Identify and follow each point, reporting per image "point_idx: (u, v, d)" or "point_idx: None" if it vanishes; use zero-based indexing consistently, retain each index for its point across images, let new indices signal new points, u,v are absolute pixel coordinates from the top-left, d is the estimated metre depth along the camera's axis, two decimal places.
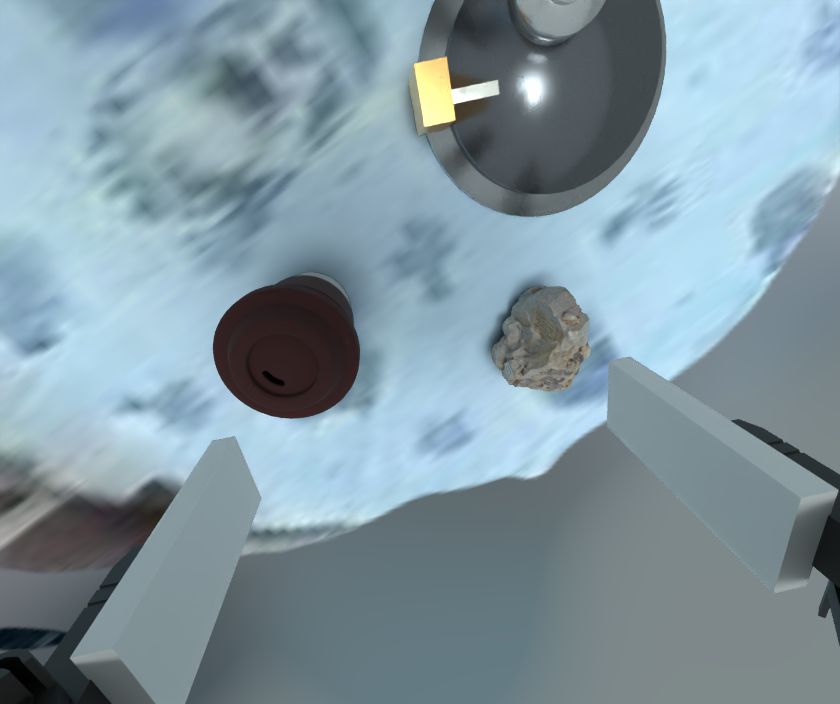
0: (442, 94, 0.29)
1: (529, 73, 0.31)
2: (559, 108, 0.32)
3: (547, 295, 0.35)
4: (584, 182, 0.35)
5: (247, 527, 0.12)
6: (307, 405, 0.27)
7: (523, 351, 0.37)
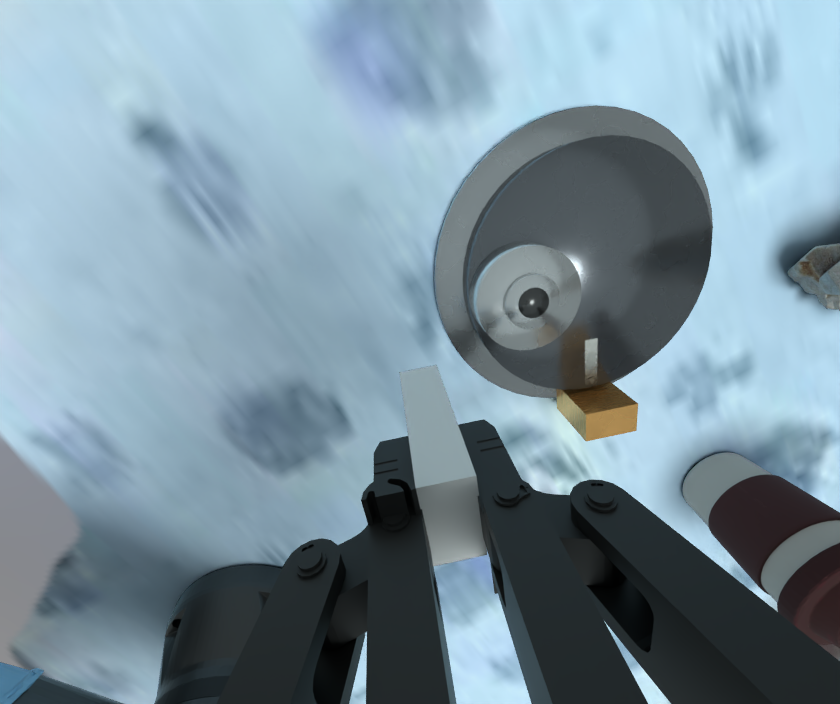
0: (614, 416, 0.29)
1: (585, 307, 0.29)
2: (624, 269, 0.28)
3: None
4: (709, 224, 0.27)
5: None
6: None
7: None
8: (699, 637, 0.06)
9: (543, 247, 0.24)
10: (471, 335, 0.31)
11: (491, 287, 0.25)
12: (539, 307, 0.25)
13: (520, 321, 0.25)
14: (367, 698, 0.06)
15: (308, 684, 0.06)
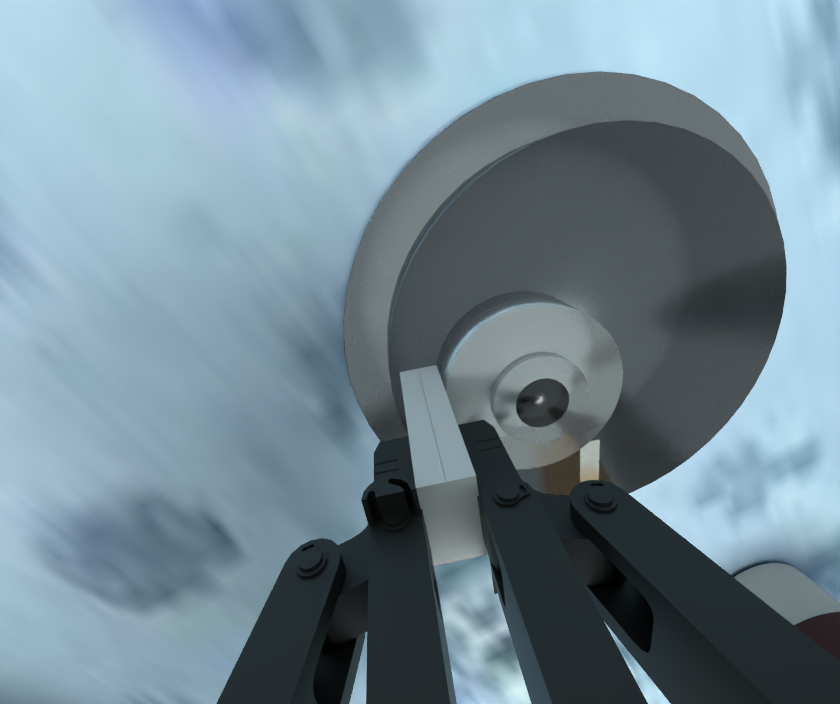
0: None
1: None
2: (643, 339, 0.17)
3: None
4: (783, 270, 0.17)
5: None
6: None
7: None
8: (699, 637, 0.06)
9: (561, 309, 0.14)
10: None
11: (468, 376, 0.14)
12: (552, 410, 0.14)
13: (520, 432, 0.15)
14: (367, 698, 0.06)
15: (308, 683, 0.06)
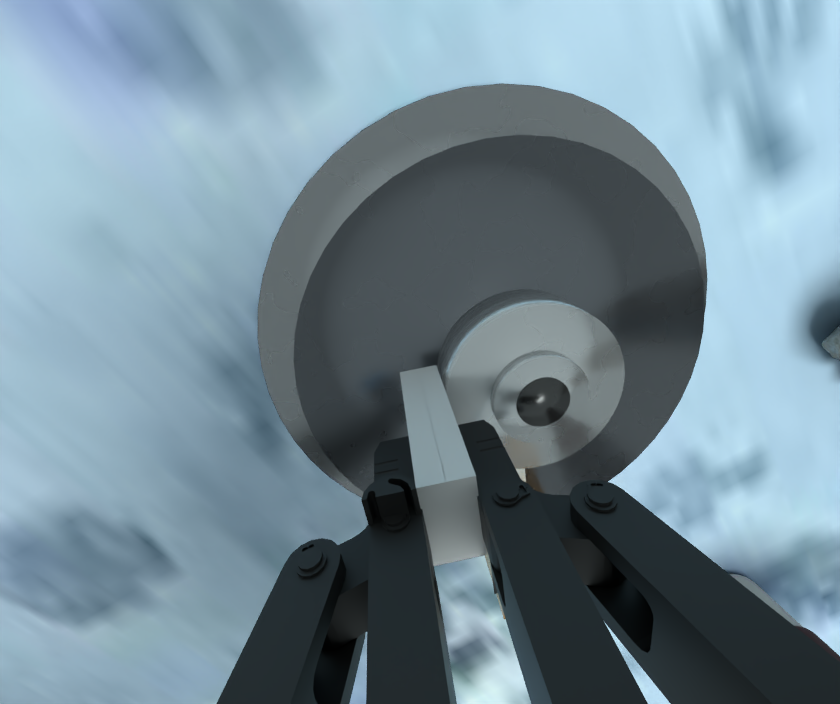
0: None
1: None
2: None
3: None
4: (700, 284, 0.16)
5: None
6: None
7: None
8: (699, 637, 0.06)
9: (559, 307, 0.14)
10: None
11: (468, 376, 0.14)
12: (553, 409, 0.14)
13: (521, 431, 0.15)
14: (367, 698, 0.06)
15: (308, 683, 0.06)
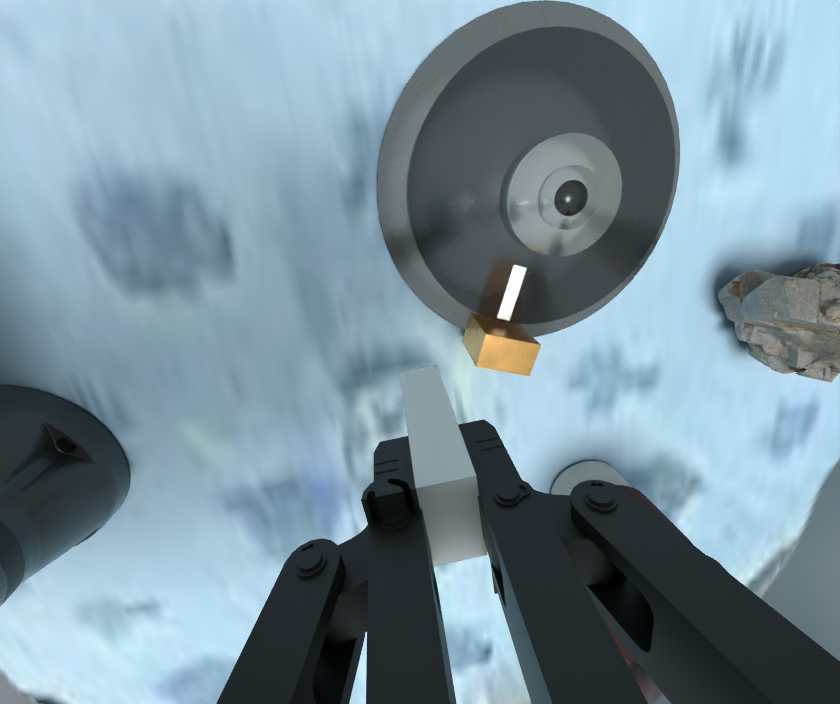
0: (513, 349, 0.26)
1: None
2: None
3: (770, 303, 0.27)
4: (669, 193, 0.26)
5: None
6: None
7: (806, 353, 0.29)
8: (699, 637, 0.06)
9: (601, 143, 0.23)
10: (402, 216, 0.28)
11: (535, 164, 0.23)
12: (574, 205, 0.23)
13: (550, 214, 0.23)
14: (367, 698, 0.06)
15: (308, 683, 0.06)
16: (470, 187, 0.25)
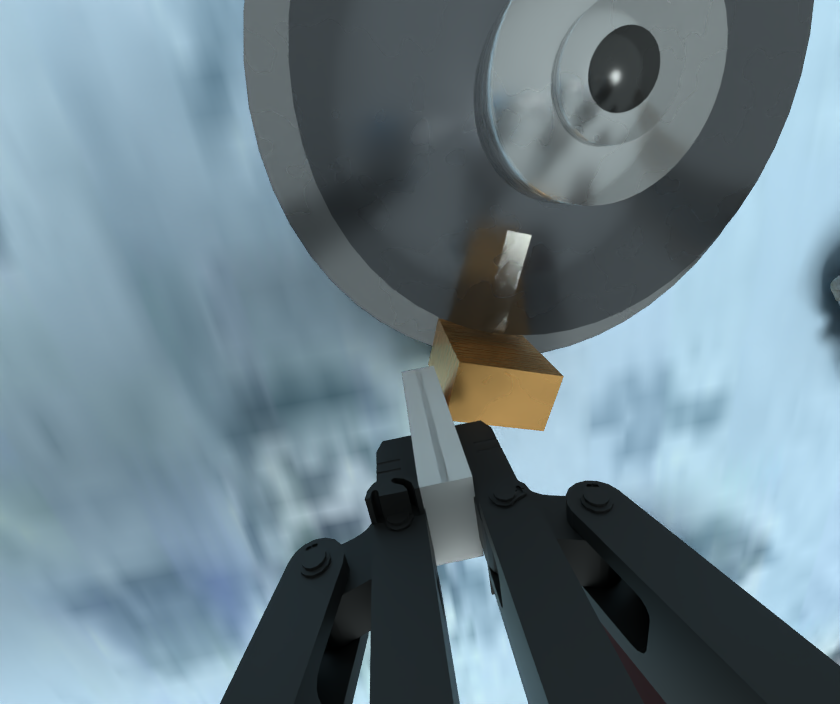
0: (513, 387, 0.14)
1: None
2: None
3: None
4: (796, 80, 0.14)
5: None
6: None
7: None
8: (694, 638, 0.06)
9: None
10: (299, 141, 0.15)
11: None
12: (631, 87, 0.11)
13: (580, 109, 0.11)
14: (371, 697, 0.06)
15: (312, 682, 0.06)
16: (415, 76, 0.13)
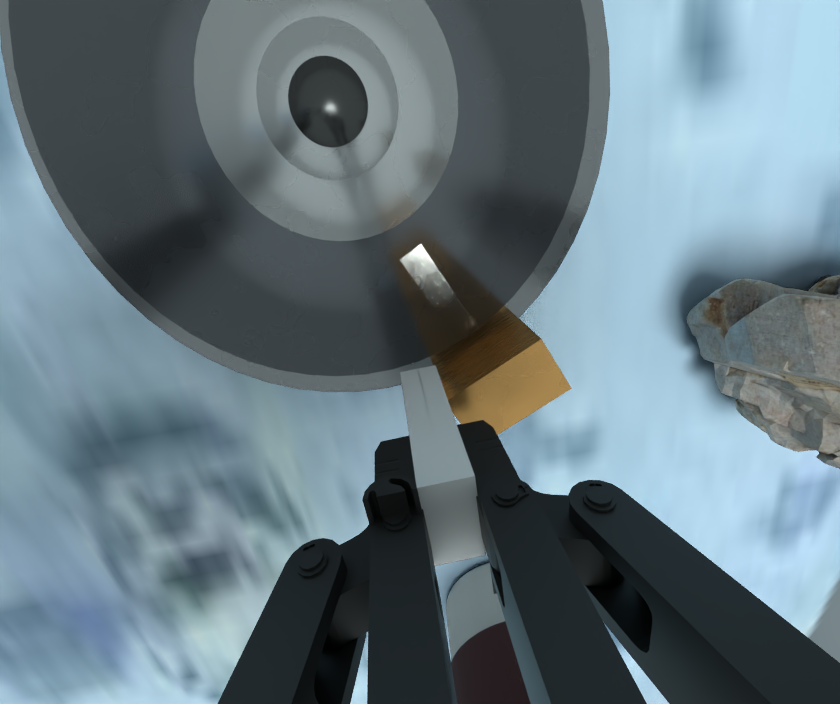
0: (507, 382, 0.14)
1: None
2: None
3: (776, 344, 0.14)
4: None
5: None
6: None
7: (839, 429, 0.16)
8: (697, 637, 0.06)
9: None
10: None
11: (227, 123, 0.10)
12: (347, 107, 0.10)
13: (330, 165, 0.11)
14: (368, 698, 0.06)
15: (309, 683, 0.06)
16: (231, 238, 0.14)
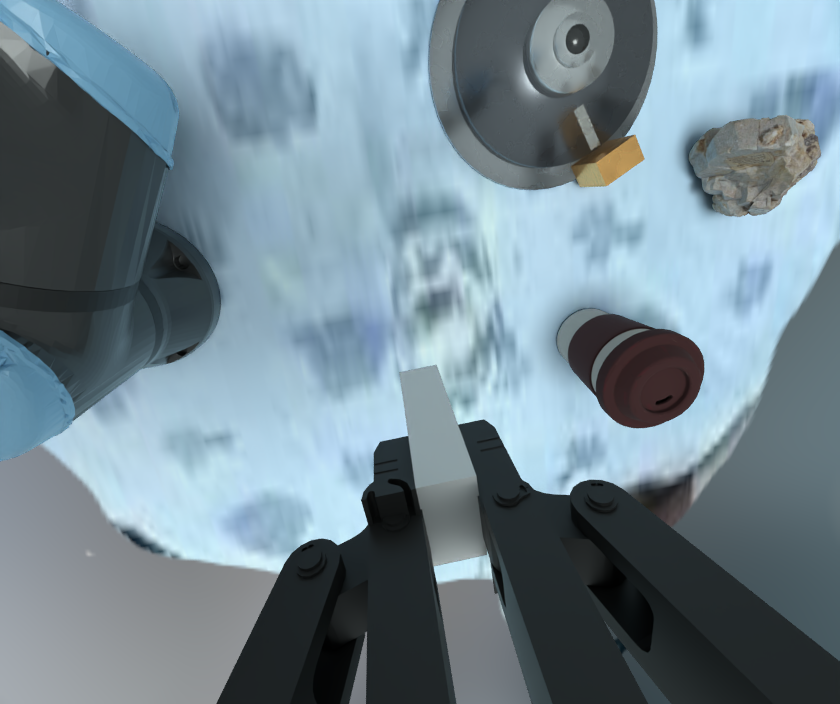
0: (620, 154, 0.35)
1: None
2: None
3: (725, 143, 0.36)
4: None
5: None
6: (698, 390, 0.35)
7: (754, 188, 0.38)
8: (699, 637, 0.06)
9: None
10: (447, 78, 0.36)
11: (540, 46, 0.32)
12: (583, 40, 0.32)
13: (573, 60, 0.32)
14: (367, 698, 0.06)
15: (308, 684, 0.06)
16: (512, 98, 0.35)
